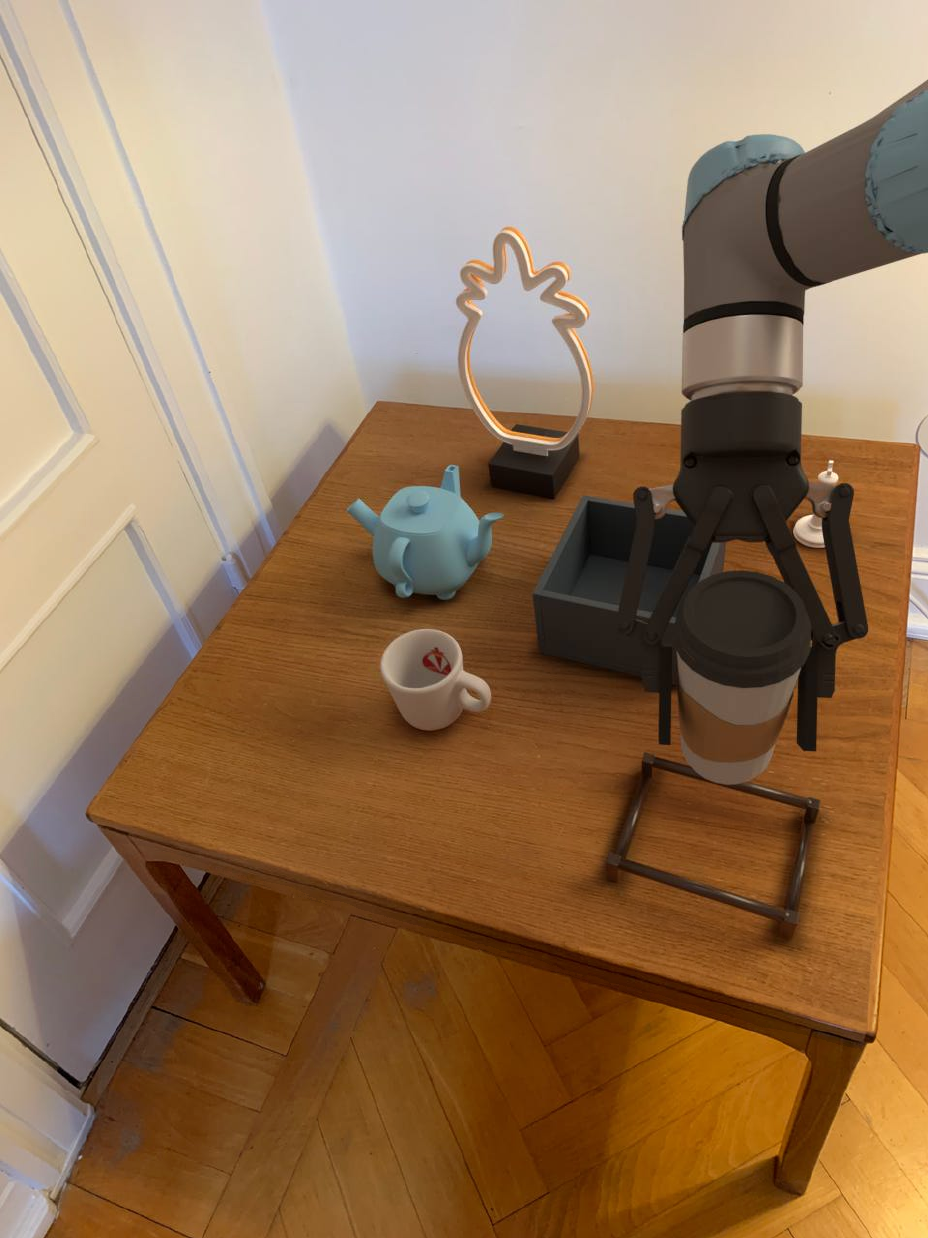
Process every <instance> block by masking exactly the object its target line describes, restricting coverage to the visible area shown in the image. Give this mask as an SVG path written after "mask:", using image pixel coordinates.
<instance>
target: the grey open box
mask: <svg viewBox="0 0 928 1238" xmlns="http://www.w3.org/2000/svg"><path fill="white" fill-rule="evenodd" d="M636 524H637V520H636V513H635V506H634V502H628V501H622V500H617V499H610V498H606V497H605V498H603V497H598V496H593V495H586V494H582V496H581V497H580V500H579V502H578V504H577V506H576V508H575V509H574V511H573V513H572V515H571V517H570V518H569V521H568V523H567V525H566V527H565V529H564V531H563V533H562V535H561V537H560V539H559V540H558V542H557V544H556V546H555V548H554V550H553V552H552V554H551V556H550V558H549V560H548V562H547V563H546V566H545V568H544V570H543V572H542V573H541V575H540V577H539V579H538V581H537V583H536V585H535V588H534V589H533V591H532V593H531V595H532V603H533V612H534V620H535V621H534V622H535V628H536V629H535V630H536V637H537V646H538V653H539V654H544V655H547V656H552V657H557V658H561V659H564V660H567V661H568V660H569V661H573V662H577V663H581V664H586V665H588V666H589V665H590V666H594V667H598V668H602V669H606V670H611V671H615V672H619V673H623V674H627V675H630V676H631V675H632V676H635V677H640V678H642V645H641V643H640V642H639V641H638V640H636V639H634V638H631V637H629V636H626V635H623V634H620V633H619V632H618V631H617V630H616V619H617V615H618V610H619V605H620V600H621V595H622V591H623V586H624V581H625V576H626V572H627V567H628V562H629V557H630V553H631V548H632V543H633V538H634V533H635V529H636ZM693 528H694V525H693V524H692V523H691V521H690V520H689V519H688V517H687V516H686V514H685V513H684V512H683V510H677V509H672V508H666V513H665V515H664V516H663V517H662V518H661V519H657V520H655V527H654V534H653V539H652V543H651V548H650V553H649V558H648V562H647V567H646V572H645V577H644V581H643V586H642V591H641V595H640V600H639V605H638V610H637V614H636V619H637V620H640V621H643V622H645V623H648V621H649V618H650V616H651V614H652V612H653V610H654V608H655V606H656V604H657V602H658V600H659V598H660V596H661V594H662V592H663V590H664V588H665V586H666V584H667V582H668V579H669V577H670V575H671V573H672V571H673V569H674V567H675V565H676V563H677V561H678V559H679V557H680V555H681V553H682V551H683V549H684V546H685V544H686V542H687V540H688V538H689V536H690V534H691V532H692V530H693ZM726 550H727V542H725V543H712V541H709V543H708V545H707V547H706V549H705V551H704V553H703V554H702V556H701V558H700V560H699V562H698V565H697V567H696V569H695V571H694V573H693V575H692V577H691V579H690V581H689V583H688V585H687V587H686V589H685V591H684V593H683V595H682V597H681V599H680V601H679V603H678V605H677V607H676V609H675V611H674V613H673V615H672V617H671V619H670V622H669V624H668V626H667V628H666V630H665V632H664V634H663V636H662V638H661V644H671V645H672V686H677V680H676V677H677V650H676V648H675V646H674V640H673V629H674V624H675V620H676V616H677V611H678V608H679V607H680V605H681V604H682V602H683V600H684V599H685V598H686V596H687V595H688V593H689V591H690V590H691V589H692V588H693V587H694V586H695V585H696V584H697V583H699V582H700V581H701V580H703V579H705V578H707V577H709V576H711V575H714V574H718V573H722V572H724V568H725V567H724V566H725V560H726Z"/></svg>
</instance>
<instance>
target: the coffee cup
mask: <svg viewBox="0 0 928 1238" xmlns="http://www.w3.org/2000/svg"><path fill="white" fill-rule="evenodd" d="M673 640H674V646H675V648H676V650H677V677H676V680H677V685H676V697H677V717H678V726H679V732H680V733H679V734H680V745H681V746H680V747H681V753H682V755H683V757H684V759H685V761H686V762H687V765H689V766H691V767H692V768H693V769H694V770H695V771H696V772H697V773H698V774H699V775H701V776H702V777H704V778H705V779H708V780H710V781H712V782H715V783H720V784H725V785H730V784H740V783H744V782H747V781H748V782H750V781H751V780H753V779H755V778H757V777H758V776H760V775H761V774H762V773H763V772H765V770H766V769H767V768H768V767H769V764H770V761H771V759H772V756H773V753H774V751H775V748H776V744H777V742H778V741H779V738H780V735H781V733H782V730H783V727H784V725H785V721H786V718H787V715H788V713H789V711H790V710H789V709H790V707H791V703H792V701H793V697H794V691H795V688H796V685H797V683H798V676H799V673H800V670H801V667H802V666H803V665H804V664H805V661H806V659H807V657H808V655H809V653H810V647H812V641H811V623H810V620H809V616H808V613H807V612H806V609H805V606H804V602H803V601H802V600H801V598H800V597H799V595H798V594H797V592H796V591H794V590H793V589H792V588H791V587H790V586H788V585H787V584H786V583H785V582H784V581H782V580H781V579H778V578H776V577H774V576H772V575H769V574H765V573H762V572H760V571H751V570H743V569H741V570H740V569H739V570H727V571H723V572H722V573H718V574H714V575H711V576H709V577H707V578H705V579H703V580H701V581H700V582H699V583H697V584H696V585H695V586H694V587H693V588H692V589H691V590H690V591H689V593H688V595H687V596H686V598H685V599H684V600H683V602H682V604H681V605H680V607H679V608H678V611H677V616H676V620H675V624H674V629H673Z"/></svg>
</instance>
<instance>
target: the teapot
mask: <svg viewBox="0 0 928 1238" xmlns="http://www.w3.org/2000/svg"><path fill="white" fill-rule="evenodd" d="M459 468H460V467H459V465H455V464H449V465H448V466H447V467H446V469H444V474H443V476H442V481H441V484H440V487H436V486H430V485H429V486H428V485H412V486H406V487H403V488H401V489H400V490H398V491H396V492H395V494H393V496H392V497H391V498H390V499H389V501H388V502H387V503H386V504H385V506H384V508H383V509H382V511H381V512H380V515H378V514H377V513H376V512H375V511H374V510H373V509H371V507H369V506H368V505H367V504H365V502H364V501H362V500H361V498H359V497H357V499H356V500H354V501H353V502H352V503H351V504H350V505H349V506H348V508H347V509H346V512H347V513H348V514H349V515H350V516H351V517H352V518H353V519H354V520H355V521H356V522H357V523H358V524H359V525H360V526H361V527H362V528H364V529H365V530H366V531H367V532H368V533H369V534H370V536H372V537H373V539H372V559H373V565H374V568H375V570H376V571H377V573H378V574H379V576H380V577H382V578H383V579H384V580H385V581H387V582H388V583H389V584H391V585H393V586H394V587H395V594H396V596H397V597H399V598H401V599H406V598H409V597H410V596H411V595H412V594H418V595H419V594H420V595H430V596H431V595H433V596H435V595H436V597H437V598H438V599H439V600H446V601H447V600H450V599H451V598H453V597H454V596H455V595H456V592H457V591H459V589H461V588H463V586H464V585H465V584H466V583H467V582H468V581H469V579H470V578H471V576H472V575H473V574H474V572H475V570H476V569H477V567H478V565H479V564H480V563H481V562H482V561H483V560H484V559H485V558H487V556H488V555H489V553H490V551H491V549H492V544H493V533H492V532H493V531H492V527H493V524H494V523H495V522H497V521H499V520H501V519H502V518H503V517H504V513H502V512H491V513H487V514H485V515H483V516H482V517H481V519H479V518H478V516H477V515H476V513H475V512H474V511H473V509H472V508H471V507H470V506H469V504H468V503H467V502H466V501H465V500H464V499H463V498H462V495H461V483H460V482H461V481H460V469H459Z"/></svg>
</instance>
